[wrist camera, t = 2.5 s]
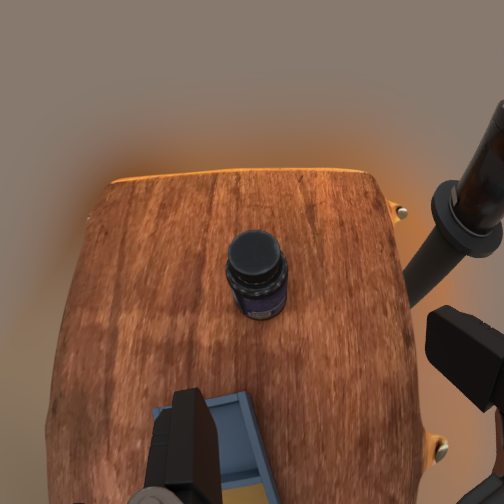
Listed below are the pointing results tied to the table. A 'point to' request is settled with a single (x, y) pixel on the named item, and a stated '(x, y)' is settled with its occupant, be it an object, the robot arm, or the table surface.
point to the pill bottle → (257, 274)
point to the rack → (240, 451)
